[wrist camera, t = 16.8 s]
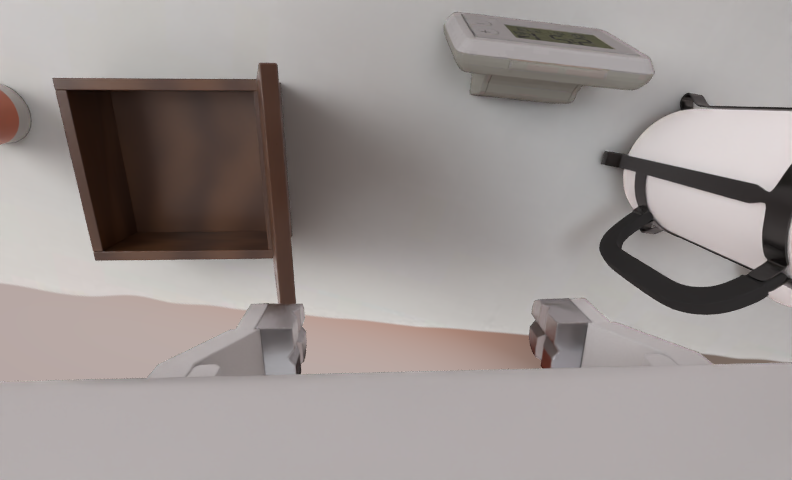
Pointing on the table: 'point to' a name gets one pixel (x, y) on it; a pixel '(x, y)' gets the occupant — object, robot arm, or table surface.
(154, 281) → the table surface
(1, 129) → the can
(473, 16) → the digital clock
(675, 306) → the coffee press
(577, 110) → the table surface
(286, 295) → the lid
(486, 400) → the robot arm
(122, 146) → the chest
